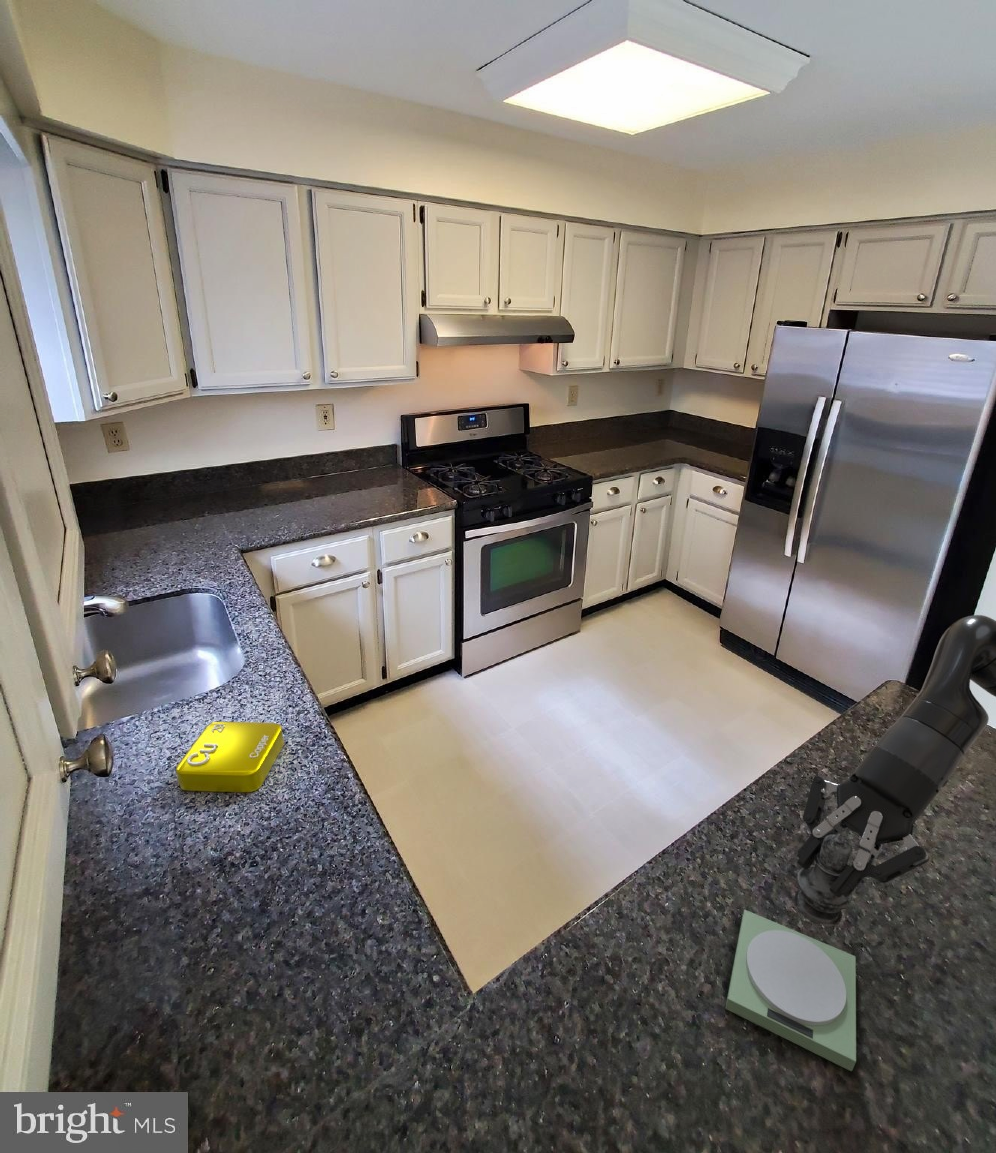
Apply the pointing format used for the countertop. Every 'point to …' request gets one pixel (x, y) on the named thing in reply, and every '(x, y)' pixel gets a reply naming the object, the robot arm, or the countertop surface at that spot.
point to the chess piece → (824, 883)
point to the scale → (795, 988)
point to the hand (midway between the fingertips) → (818, 879)
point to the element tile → (231, 757)
